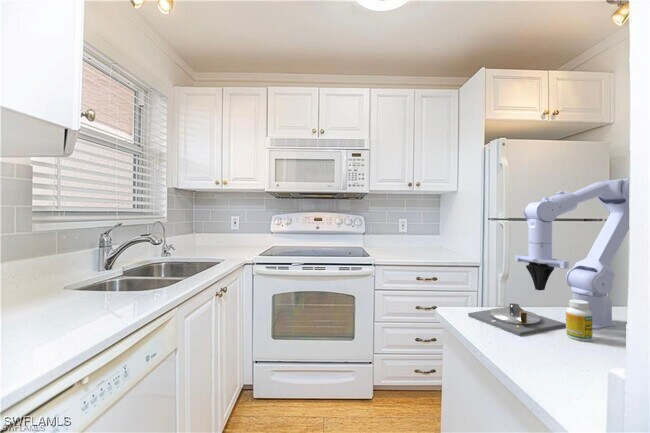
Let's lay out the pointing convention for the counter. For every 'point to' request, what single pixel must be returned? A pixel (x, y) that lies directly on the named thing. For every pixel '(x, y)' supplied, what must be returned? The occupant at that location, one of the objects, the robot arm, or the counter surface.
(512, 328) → the dial plate
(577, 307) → the supplement bottle
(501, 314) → the dial
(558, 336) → the counter surface
